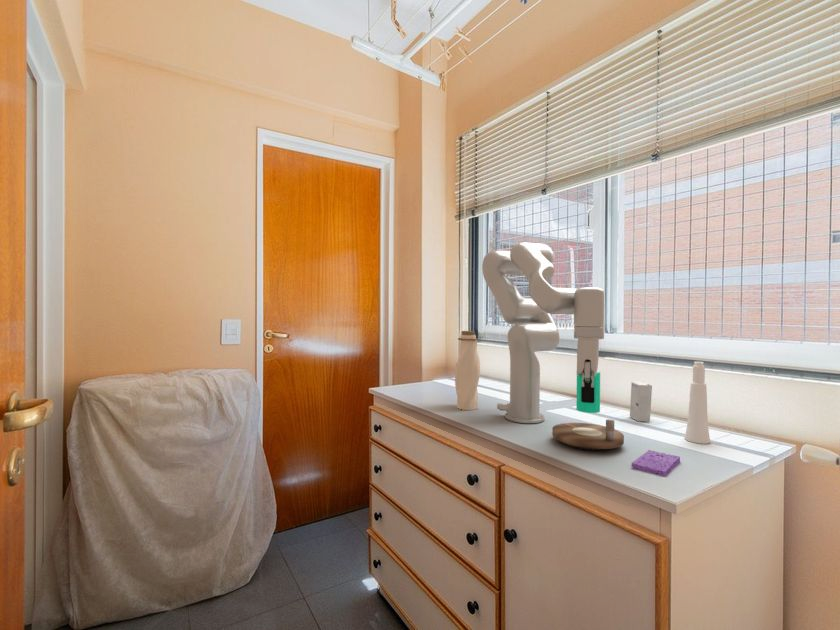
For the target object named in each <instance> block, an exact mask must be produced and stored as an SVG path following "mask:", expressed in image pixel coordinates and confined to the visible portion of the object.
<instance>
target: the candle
mask: <svg viewBox="0 0 840 630" xmlns="http://www.w3.org/2000/svg"><path fill="white" fill-rule="evenodd" d="M584 375H585V373H584ZM590 376H592V374H591V373H590ZM593 376H594V375H593ZM590 379H591V378H590ZM581 387H582V373H581V374H579V376H578V375H577V374H576V410H577V411H578V412H581V413H588V414H597V413H600V412H601V372H600V371H597V373H596V376H594V378H593V388H594V403H586V402H582V401H581Z"/></svg>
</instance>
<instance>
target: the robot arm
mask: <svg viewBox="0 0 840 630" xmlns="http://www.w3.org/2000/svg"><path fill="white" fill-rule="evenodd" d="M553 261H554V253H553V250H552V248H551V247H550V246H549V245H547V244H545V243H537V242H528V241H527V242H524V241H523V242H518V243H516V244H515V245H513V246H512V248H511V249H510V250H507V249H506V250H503V249H501V250H499V249H497V250H492V251H489V252H487V253H486V254H485V256H484V257H483V260H482V265H481V267H482V268H481V271H482V275H483V279H484V281H485V283H486V285H487V287H488V288H489V290H490V291H491V293H492V295H493V297H494V300H495V303H496V304H497V307H498V310H499V312H500V314H501V317H502V318H503V320H504V322H505V323H507V324H509V325H512V326H511V327H510V328H509V330H508V331H507V338H506V339H507V344H508V351H509V359H510V360H509V363H510V364H509V366H510V367H509V372H510V373H509V403H506V404H505V403H504V404H503V403H497V405H496V408H497V410H499V411H503V412H505V413H504V418H505V419H506V420H508V421H510V422H514V423H519V424H520V423H521V424H540V423H542V422H544V421H545V416H544V414H542V413H540V403H541V402H540V400H541V399H540V398H541V397H540V393H541V392H540V391H541V389H540V388H541V376H540V375H541V366H540V362H539V359H538V357H537V356H536V353H535V352H549V351H553V350H555V349H556V348H557V347H558V346H559V345H560V344H559V343H560V333H559V329H558V327H557V325H556V323H555V321H554V319H553V317H552V315H573V339H576V340H577V346H576V348H577V351H576V376H577V375H578V376H579V374H581V373H582V387H581V401H582V402H586V403H594V388H593V378H594V376H596V373H598V366H599V358H600V357H599V356H600V355H599V350H600V347H599V346H600V340H604V339H605V291H604V289H603V288H600V287H597V286H596V287H593V286H592V287H591V286H589V287H578V288H575V287H573V288H572V287H554V286H552V285H550V284H549V282H550V281H551V279H553V277H554V274H555V267H554V264H553ZM507 275H511V276H523V275H524V277H525V278H526V279H527V280H528V293H529V297H528V296H526V297H525V296H523V295H522V294H521V293H520V292H519V290H518V286H517V285H516V284H515V283H514V281H513V280H512V279H511V278H510V277H508V276H507ZM584 373H585V375H584ZM590 373H591V374H592V376H590ZM593 375H594V376H593ZM590 378H591V379H590Z"/></svg>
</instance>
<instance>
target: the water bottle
mask: <svg viewBox="0 0 840 630" xmlns="http://www.w3.org/2000/svg"><path fill="white" fill-rule="evenodd" d="M460 332H461V333H460V335H459V336H460V337H458V338H457V340H458V341H460V342H459V351H458V352H459V353H458V354H459V358H458V359H457V362H456V364H455V370H454V384H455V386H454V387H455V391H456V397H457V400H456V401H457V402H456V408H457V409H458V408H459V410H461V409H462V410H461V411H475V410H478V409H479V392H478V387H479V381H480V376H481V372H480V371H481V362H480V357H479V353H478V350H477V348H478V338H477V336H476V331H475V330H461V331H460Z"/></svg>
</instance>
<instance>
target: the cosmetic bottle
mask: <svg viewBox="0 0 840 630" xmlns="http://www.w3.org/2000/svg"><path fill="white" fill-rule="evenodd" d="M705 369H706V366H705V365H704V361H694V362H693V365H692V381H691V382H690V387H689V402H688V411H687V412H688V414H687V415H688V416H687V422H686V423H687V425H686V430H685V435H684V439H685V440H686V441H688V442H690V443H695V444H700V445H706V444H710V443H711V438H710V430H709V419H708V416H709V415H708V392H707V389H708V388H707V383H706V382H705V379H706V378H705V377H706V370H705Z"/></svg>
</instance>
